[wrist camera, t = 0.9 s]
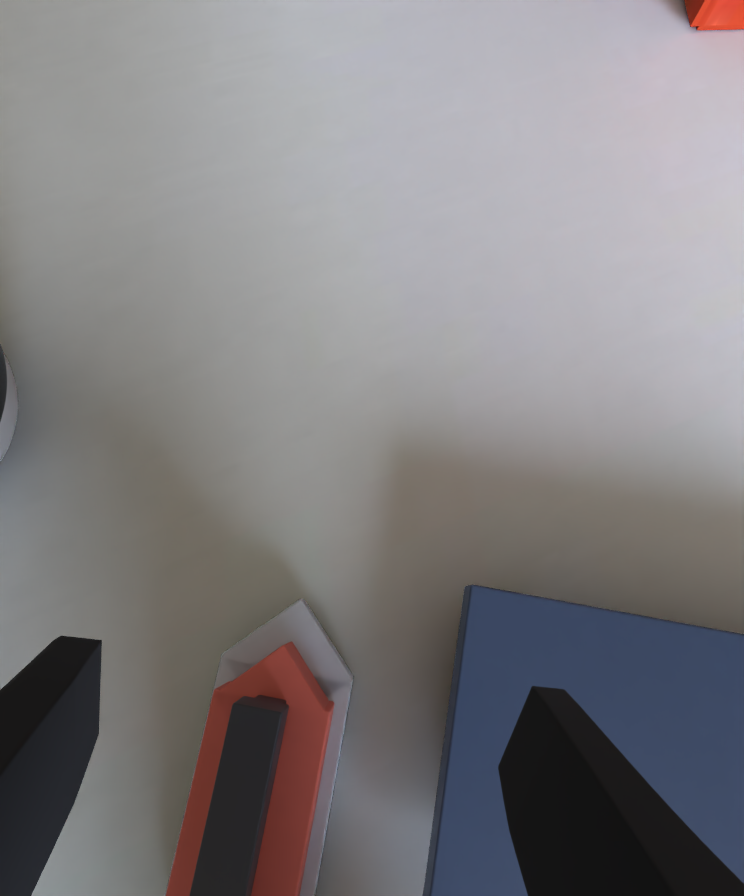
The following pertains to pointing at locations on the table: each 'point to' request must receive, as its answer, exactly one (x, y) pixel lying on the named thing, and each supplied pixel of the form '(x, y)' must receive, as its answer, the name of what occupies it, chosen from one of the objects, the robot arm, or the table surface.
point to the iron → (266, 764)
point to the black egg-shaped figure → (7, 404)
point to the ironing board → (606, 702)
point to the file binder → (715, 14)
